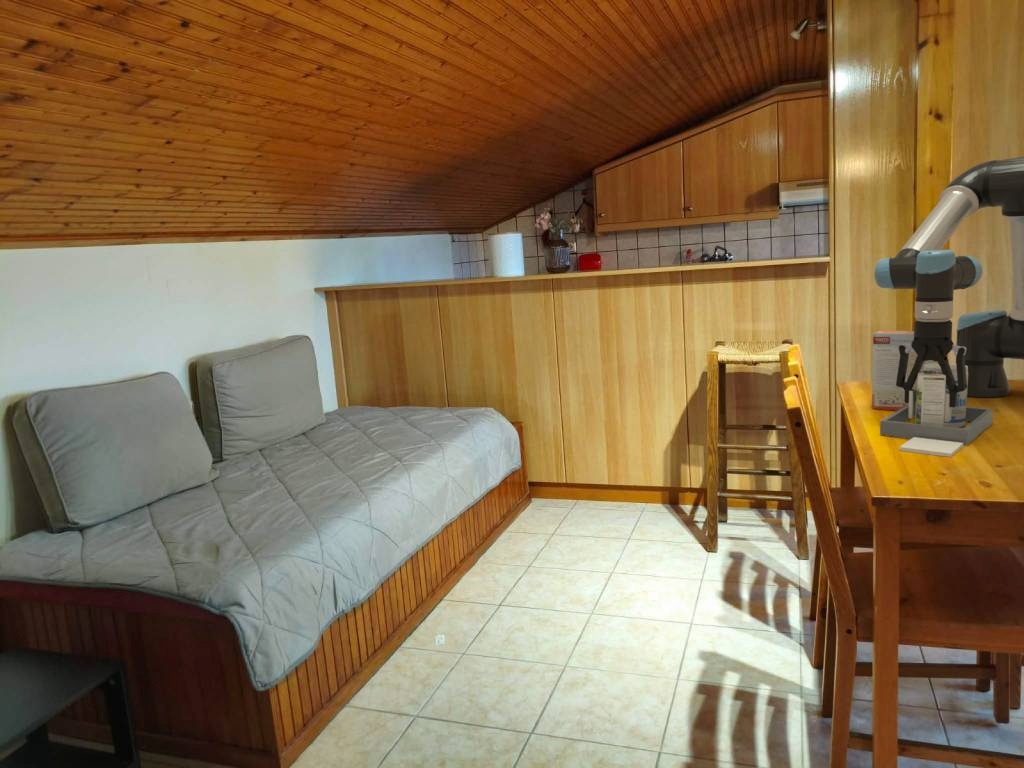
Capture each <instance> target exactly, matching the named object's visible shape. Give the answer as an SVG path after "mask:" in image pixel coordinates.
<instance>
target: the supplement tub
mask: <svg viewBox="0 0 1024 768" xmlns="http://www.w3.org/2000/svg"><path fill="white" fill-rule="evenodd" d="M949 366H950V368H951V371H952V374H953V377H954V379H955V382H956V385H957V386H958V379H957V367H956V362H955V363H953V362H951V363H950V362H949ZM965 366H966V365H965ZM924 370H936V371H942V370H941V367H940V365H939V364H938V362H935V363H930V364H925V365H924ZM966 379H967V386H968V366H966ZM947 392H949V390H948V387H947V384H946V388H945V394H946V393H947ZM967 400H968V396H967V389H965V390H964V391H962V392H958V393H957V405H956V406H955V407H952V411H951V420H950V421H949V422H944V427H952V428H963V427H965V425H966V422H965V420H966V407H967ZM944 414H945V410H944Z"/></svg>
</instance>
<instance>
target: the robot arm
mask: <svg viewBox="0 0 1024 768" xmlns="http://www.w3.org/2000/svg"><path fill="white" fill-rule="evenodd" d="M991 207H992V208H993V207H994V208H996V207H1000V208H1001V216H1002V217H1004V218H1005V219H1007V220H1008V221H1009V222H1008V223H1009V235H1010V236H1009V237H1010V238H1009V239H1010V250H1011V251H1010V252H1011V253H1010V254H1011V265H1012V283H1013V285H1012V286H1013V297H1014V298H1013V299H1014V301H1013V302H1014V307H1013V308H1012V309H1011V310H1010V311H1009V312H1008V313H1007V310H1006V309H998V310H987V311H976V312H971V313H965V314H962V315H960V316H959V318H958V319H957V328H956V345H955V344H954V342H953V340H952V339H953V336H952V335H953V321H952V320H950V319H952V318H953V315H954V314H953V313H954V291H956V290H957V291H958V290H966V289H968V288H970V287H973V286H974V285H976V284H977V283H978V282H979V281H980V279H981V278H982V277H983V276H982V275H983V266H982V263H981V262H980V261H979V259H977V258H976V257H974V256H971V255H957V256H956V254H955V252H954V250H951V249H943V248H944V247H945V245H946V244H947V243H948V241H949V240H950V239H951V238H952V236H953V235H954V234H955V232H956V231H957V230H958V228H959V227H960V225H961V224H963V222H964V221H965V219H966V218H970V217H971V216H973V215H974V214H975V213H976V212H977V211H978V210H980V209H982V208H991ZM873 273H874V274H873V275H874V280H875V283H876V285H877V287H880V288H881V289H893V290H915V297H914V298H915V299H914V300H915V301H914V318H915V319H917V320H915V321H914V323H913V324H914V327H913V331H914V340H913V342H912V343H911V344H903V345H900V346H899V352H900V361H899V367H898V374H897V381H896V386H897V387H901V388H903V389H904V390H905V397H904V398H905V399H904V401H905V403H909V414H908V418H911V419H910V420H912V419H913V418H915V412H916V389H912V388H913V387H914V386H913V385H914V383H915V381H916V379H917V376H918V372H919V371H920V370H921V367H922V365H923V363H924V362H925V361H928V360H932V361H935V362H937V363H938V364H939V365H940V367H941V370H942V373H943V375H946V384H947V387H948V390H949V392H947V393H946V394H945V414H944V422H949V421H950V420H951V411H952V407H955V406H956V405H957V393H958V392H962V391H964V390H965V389H967V397H969V396H970V397H971V398H999V397H1005V396H1008V395H1009V394H1010V389H1011V387H1010V383H1009V380H1008V376H1007V373H1006V371H1005V368H1004V364H1005V363H1004V362H1005V359H1012V360H1013V359H1014V360H1024V156H1020V157H1013V158H1005V159H998V160H997V159H995V160H987V161H984V162H981V163H978V164H977V165H974V166H972V167H970V168H968V169H967V170H965V171H963V172H962V173H961V174H959V175H958V176H957V177H955V178H954V179H953V180H951V181H950V183H948V185H947V186H946V187H945V188H944V189H943V190H942V192H941V193H940V194H939V198H938V203H937V205H936V206H934V208H933V210H931V212H930V213H929V214H928V215H927V216H926V218H925V219H924V221H922V223H921V224H920V226H919V227H918V228H917V229H916V231H915V232H913V234H912V235H911V236H910V238H909V239H908V240H907V242H906V243H905V244H904V246H903V247H902V248H901V249H900V250H899V251H898V252H897V254H896V255H895V256H894V257H891V256H890V257H886V258H881V259H879V261H878V262H877V263H876V265H875V267H874V272H873ZM912 348H913V349H914V351H915V352H916V354H917V355H918V356H917V358H916V360H915V364H914V366H913V368H912V371H911V373H910V375H909V377H908V380H907V382H905V378H906V371H907V365H908V358H909V353H910V352H911V349H912ZM951 351H953V354H954V356H955V364H956V367H957V379H958V386H957V385H956V382H955V379H954V377H953V374H952V371H951V368H950V366H949V363H950V362H949V357H948V354H950V352H951ZM965 365H966V366H968V386H967V379H966V366H965Z"/></svg>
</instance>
